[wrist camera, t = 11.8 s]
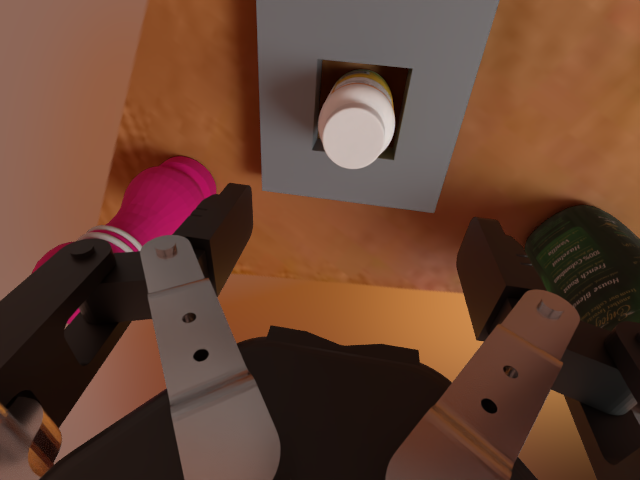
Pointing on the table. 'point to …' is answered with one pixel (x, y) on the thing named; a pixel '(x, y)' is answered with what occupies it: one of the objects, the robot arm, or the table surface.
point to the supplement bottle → (357, 119)
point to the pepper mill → (152, 206)
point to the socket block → (377, 49)
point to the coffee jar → (590, 265)
